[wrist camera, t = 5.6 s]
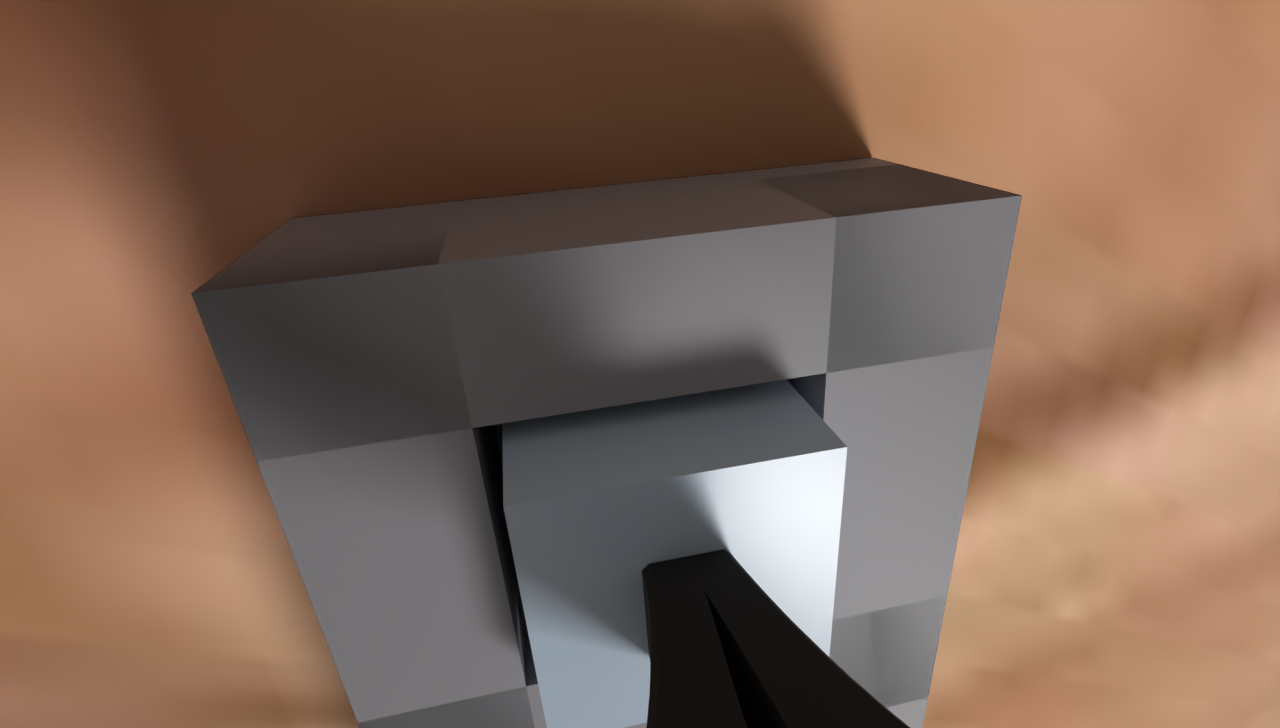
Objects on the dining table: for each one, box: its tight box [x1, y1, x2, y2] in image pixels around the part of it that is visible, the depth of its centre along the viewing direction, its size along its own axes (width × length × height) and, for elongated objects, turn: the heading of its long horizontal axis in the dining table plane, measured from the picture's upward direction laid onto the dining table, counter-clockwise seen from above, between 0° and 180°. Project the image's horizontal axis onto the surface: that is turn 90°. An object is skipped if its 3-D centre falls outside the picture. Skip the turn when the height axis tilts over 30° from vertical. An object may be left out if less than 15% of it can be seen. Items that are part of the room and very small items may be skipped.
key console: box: [191, 158, 1022, 728], centre depth 16 cm, size 20×12×4 cm, turn 4°
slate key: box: [502, 379, 847, 728], centre depth 12 cm, size 5×5×4 cm
